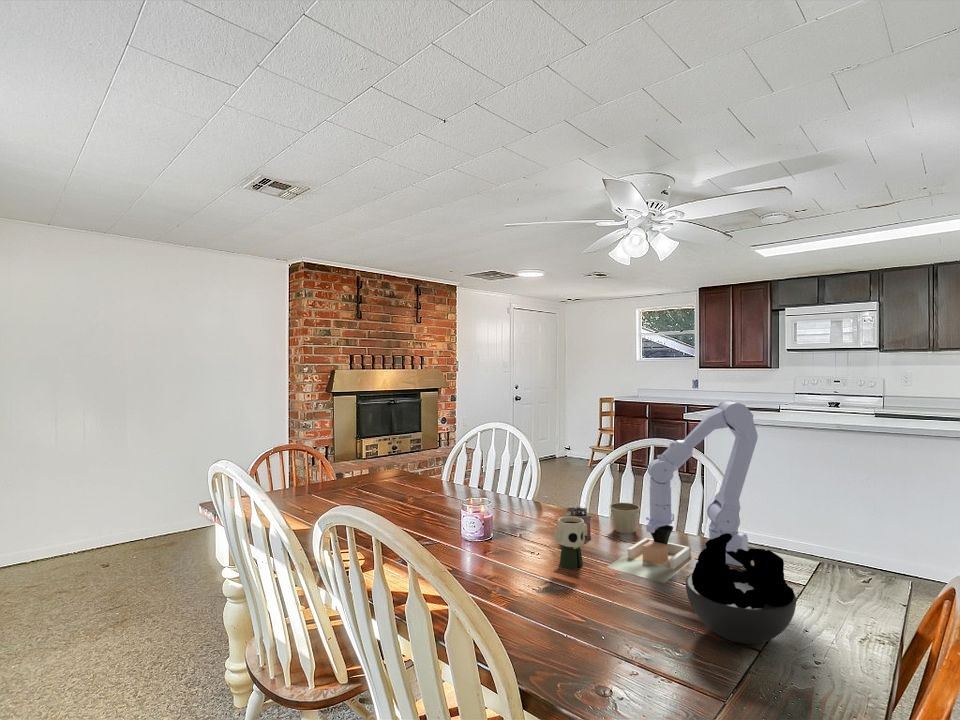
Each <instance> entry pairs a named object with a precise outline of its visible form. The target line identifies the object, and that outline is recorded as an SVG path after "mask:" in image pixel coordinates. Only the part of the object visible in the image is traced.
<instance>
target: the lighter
mask: <svg viewBox="0 0 960 720" xmlns="http://www.w3.org/2000/svg"><path fill="white" fill-rule="evenodd" d="M566 512H568V513H564V517H578V518H581V519H583V520H584V524H586V525H587V535H586V536H585V541H591V540H592V535H591V518H592V515H591V514H589V513H587V512H588V508H587V507H581V506H579V505H578V506H576V507H575V506H567V507H566ZM569 512H570V513H569Z"/></svg>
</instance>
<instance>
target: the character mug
mask: <svg viewBox="0 0 960 720" xmlns="http://www.w3.org/2000/svg"><path fill="white" fill-rule="evenodd" d="M553 535H554V537H553V538H554V539H553V540H554V542H555V543H558V544H559V545H561V551H560V558H559V566H560V567H561V568H564V569H568V570H577V569H578V567H579V569H582V568H583V567H584V565H583V564H584V562H583V556H582V555H583V554H582V549H581V547H582V546H583V545H584V543H585V542H586V540H585V536H586V535H587V525H586V524H584V520H583V519H581V518H578V517H565V516H562V517H559V518H558V519H557V529H554V534H553Z"/></svg>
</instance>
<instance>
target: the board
mask: <svg viewBox="0 0 960 720" xmlns="http://www.w3.org/2000/svg"><path fill="white" fill-rule="evenodd" d="M675 555H676V554H673V553H668V560H666V561H665V562H663V563H662V564H661V565H660V564H656V563H652V562H648V561H644V560H643V551H642V552H641V553H639V554H638V555H636V556H634V557H633V558H628V553H626V554H625V555H622V556H621V557H619V558H618V559H616V560H615V561H613V562H612V563H610V564H609V565H607V566H605V568H606V569H611V570H613V571H617V572H621V573H625V574H629V575H632V576H636V577H640V578H643V579H646V580H652V581H656V582H660V583H663V584H665V583H667V582H668V581H669V580H671V579H672V578H673V577H674V576H676V574H678V573H679V572H681V571H682V570H683V569H684V568H685V567H687V566H688V565H689V564H691V563H692V562H693V561H694V560H695V559H696V558H697V557H696V556H692V555H691V556H690V557H689V558H688V559H687V560H685V561H684V562H683V563H681V564H680V565H679V566H678V567H676V568H675V569H671V568H670V559H671V558H672V557H673V556H675Z"/></svg>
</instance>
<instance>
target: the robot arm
mask: <svg viewBox="0 0 960 720" xmlns="http://www.w3.org/2000/svg"><path fill="white" fill-rule="evenodd" d="M726 428H728V429H729V430H730V432H731V434H732V435H733V436H734V437H735V438H734V442H733V446H732V447H731V448H732V449H731V452H730V455H729V458H728V462H727V465H726V468H725V471H724V474H723V478H722V481H721V485H720V489H719V490H718V491H717V493H716V494H715V495H714V499H713V500H712V502H711V503H710V504H709V505H708V506H707V509H706V514H707V517H708V518H709V520H710V521H711V522H710V524H709V525H708V540H709V539H714V538H716V537H719V536H720V535H722V534H726V533H728V534H731V535H732V536H733V537H732V539H731V540H730V541H729V542H728V543H727V546H726V551H734V552H737V549H743V550H745V551H748V550H749V538H748V535H747V533H744V532H741V531H739V529H738V528H739V527H740V525H741V518H740V513H741V512H740V511H741V503H740V497H741V494H742V490H743V488H744V485H745V481H746V478H747V475H748V471H749V468H750V464H751V461H752V458H753V454H754V451H755V449H756V445H757V442H758V438H759V437H758V436H759V435H758V431H757V429H756V425H755V421H754V414H753V412H751V410H750V408H748V407H747V406H746V405H745V404H743V403H741V402H734V401H732V400H723V401H721V402H720V403H718V405H717V407H714V408H712V409H711V410H710V411H709V412H708V413H707V415H706V416H705V417H703V419H702V420H701V421H700V422H699V423H698V424H697V425H696V426H695V427H694V428H693V430H692V431H690V432H689V433H688V434H687V436H686V437H685V438H684V439H677V440H675V441H674V442H673V441H670V442H669V443H668V445H669V446H668V448H667V449H666V450H664V451H663V453H661V454H658V455H657V456H656V458H657V459H654V460H653V459H652V461H651V462H650V463H649V464H648V468H646V469H647V473H648V474H649V476H650V477H649V515H647V516H646V517H645V519H646V521H648V523H646V524H645V526H646V527H645V528H646V529H645V531H646V533H650V535H651V536H652V539H653V540H654V542H658V543H663V544H668V542H669V539H670V537H671V533H672V532H673V530H674V526H672V524H673V522H674V521H675V514H674V513H672V487H671V481H672V480H673V477H674V472H676V471H677V470H678V469H680V467H682V466H683V465H684V464H685V463H686V462H687V461H688V460H689V459H690V458H691V457H692V456H693V450H694V448H695V447H696V446H698V445H699V444H700V443H701V442H702V441H703V440H704V439H706V438H707V437H708V436H709V435H711V433H713V432H714V431H715V430H719V429H726ZM725 564H727V565H734V566H739V567H743V566H744V565H742V564H741V563H739V562H738V561H736V560H735V559H733V558H732V557H731V556H730V555H729V554H727V553H726V563H725Z"/></svg>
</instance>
